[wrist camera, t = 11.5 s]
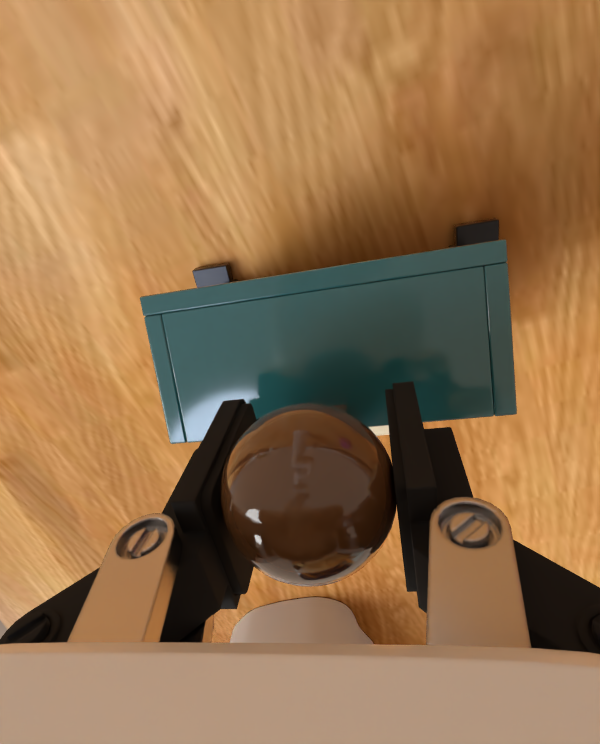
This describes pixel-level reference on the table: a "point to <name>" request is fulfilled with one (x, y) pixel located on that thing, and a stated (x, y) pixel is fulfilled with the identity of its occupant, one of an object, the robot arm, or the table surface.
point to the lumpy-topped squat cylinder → (300, 623)
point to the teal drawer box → (330, 390)
